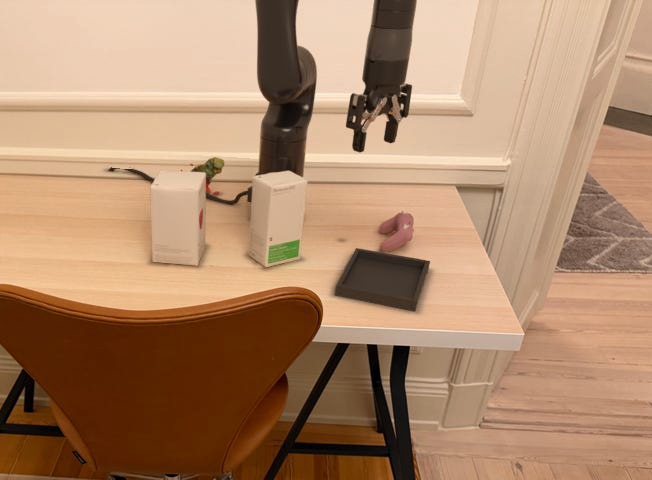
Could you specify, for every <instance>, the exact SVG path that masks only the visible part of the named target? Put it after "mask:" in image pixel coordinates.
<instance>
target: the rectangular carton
mask: <svg viewBox="0 0 652 480" xmlns="http://www.w3.org/2000/svg"><path fill="white" fill-rule="evenodd" d="M154 179H155V180H154V182H151V184H150V187H149V195H150V198H149V199H150V225H151V227H150V228H151V230H150V231H151V251H152V252H151V257H152V259H151V260H152V263H162V264H163V263H164V264H172V265H173V264H174V265H185V266H197V267H198V265H199V264H200V261H201V258H202V255H203V253H204V251H205V247H206V220H207V219H206V215H207V214H206V212H207V210H206V209H207V208H206V207H207V206H206V205H207V204H206V201H207V198H206V194H207V190H206V173H203V172H190V171H185V170H182V171H181V170H172V169H171V170H169V169H161V170H160V171H159V172H158V173H157V175H156V176H155V177H154Z"/></svg>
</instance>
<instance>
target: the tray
mask: <svg viewBox="0 0 652 480" xmlns="http://www.w3.org/2000/svg"><path fill="white" fill-rule="evenodd" d="M430 264H431V260H427V259H423V258H422V259H421V258H416V257H409V256H404V255H399V254H393V253H388V252H383V251H378V250H377V251H376V250H370V249H365V248H358V247H355V248H354V251H353V252H352V255H351V256H350V258H349V261H347V264H346V266H345V268H344V270H343V271H342V274H341V276H340V277H339V278H338V281H337V283H336V285H335V291H334V296H336V297H342V298H346V299H351V300H357V301H361V302H367V303H371V304H377V305H381V306H385V307H391V308H396V309H401V310H407V311H411V312H416V310H417V307H418V304H419V300H420V297H421V295H422V291H423V288H424V285H425V282H426V280H427V279H426V278H427V276H428V272H429V270H430V269H429V268H430Z"/></svg>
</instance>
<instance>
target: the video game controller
mask: <svg viewBox="0 0 652 480" xmlns="http://www.w3.org/2000/svg"><path fill="white" fill-rule="evenodd" d="M378 231H379V232H380V233H381V234H390V233H392V232H393V234H392V235H391V236H389V237H387V238H386V239H384V240H383V241H382V242H381V243H380V244H379V249H380V251H381V252H383V253H387V252H392V251H395V250H397V249H399V248H400V247H402V246H403V245H406V244H407V243H408V242H410V241H412V240H413V239H414V235H413V234H414V232H415V229H414V216H413V215H412V214H411V213H408V212H404V211H403V210H402V211H401V212H398V213H397V214H395V215H394V216H393V217H391V218H389V219H387V220H385V221H384V222H382V223H381V224H380V226H379V227H378Z"/></svg>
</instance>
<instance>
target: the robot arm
mask: <svg viewBox="0 0 652 480" xmlns="http://www.w3.org/2000/svg"><path fill="white" fill-rule="evenodd" d="M299 1H300V0H254V3H255V13H256V29H257V33H256V34H257V37H256V38H257V39H256V40H257V41H256V79H257V85H258V89H259V91H260V93H261V95H262V96H263V98H264V99H265V100H266V101H267V102H268V106H267V109H266V111H265V113H264V116H263V117H262V120H261V122H260V132H259V133H260V134H259V153H258V167H257V172H256V173H255V175H254V176H257V175H264V174H268V173H276V172H283V171H291V172H293V173H295V174H296V175H299V176H301V177H303V178H304V173H305V161H306V151H307V150H306V149H307V140H308V138H307V137H308V131H309V126H310V124H311V121H312V117H313V114H314V113H313V112H314V105H315V99H316V89H317V79H318V68H317V63H316V60H315V57H314V56H313V54H312V53H311V52H310V50H308V49H307V48H305V47H304V46H301V45H298V37H297V13H298V7H299ZM417 3H418V0H373V4H372V13H371V19H370V26H369V31H368V35H367V39H366V45H365V53H364V62H363V69H362V77H361V79H362V82H363V83H364V86H365V87H364V90H363V93H354V92H352V93H351V94H350V97H349V101H348V102H349V103H348V110H347V115H346V121H345V128H346V129H350V130H353V136H352V144H351V146H352V147H351V148H352V150H353V152H356V153H360V154H361V153H363V152H365V146H366V140H367V130H368V128H369V126H370V125H371V123H373V122H375V120H376V119H377V117H380V116H382V115H383V114H385V117H386V119H387V120H386V121H385V129H384V134H383V141H384V142H385V143H388V144H394V143H395V142H396V139H397V136H398V131H399V130H398V129H399V124H400V123H401V122H402V119H406V118H408V117H409V112H410V107H411V97H412V93H413V92H412V91H413V85H412V84H410V83H405V82H406V79H407V75H408V68H409V62H410V55H411V50H412V49H411V48H412V44H413V29H414V27H413V26H414V23H415V15H416V11H417ZM402 105H403V107H402ZM366 112H367V113H366ZM117 169H118V170H121V169H120V168H112V166H111V167H110V168H109V169H108V172H113V171H114V170H117ZM122 170H123V171H126V172H130V173H133V174H136V175H139V176H141V177H142V178H144V179H146V180H147V181H149V182H151V183H153V182H154V180H155V178H153V177H152V176H150V175H149V174H147V173H145V172H143V171H142V170H138V169H135V168H132V169H122ZM245 196H246V197H247V198H246V202H247V203H250V204H251V201H252V185H251V186H249V187H248V188H247V190H244V191H241V192H239V193H238V194H237V195H236V196H235V199H232V200H226V199H222V198H220V197H217V196H215V195H212V194H209V193H206V199H209V200H211V201H214V202H216V203H220V204H225V205H235V204H238V202H240V199H241V198H242V197H245Z"/></svg>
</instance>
